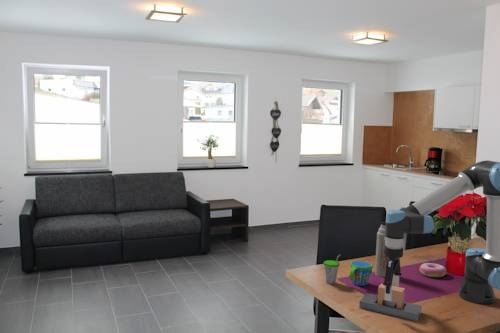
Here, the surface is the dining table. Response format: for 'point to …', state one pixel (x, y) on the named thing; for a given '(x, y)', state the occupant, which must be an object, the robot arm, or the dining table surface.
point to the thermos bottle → (381, 252)
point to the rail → (391, 308)
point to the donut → (432, 270)
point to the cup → (331, 270)
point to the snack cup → (360, 272)
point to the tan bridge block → (396, 295)
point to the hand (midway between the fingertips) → (391, 295)
